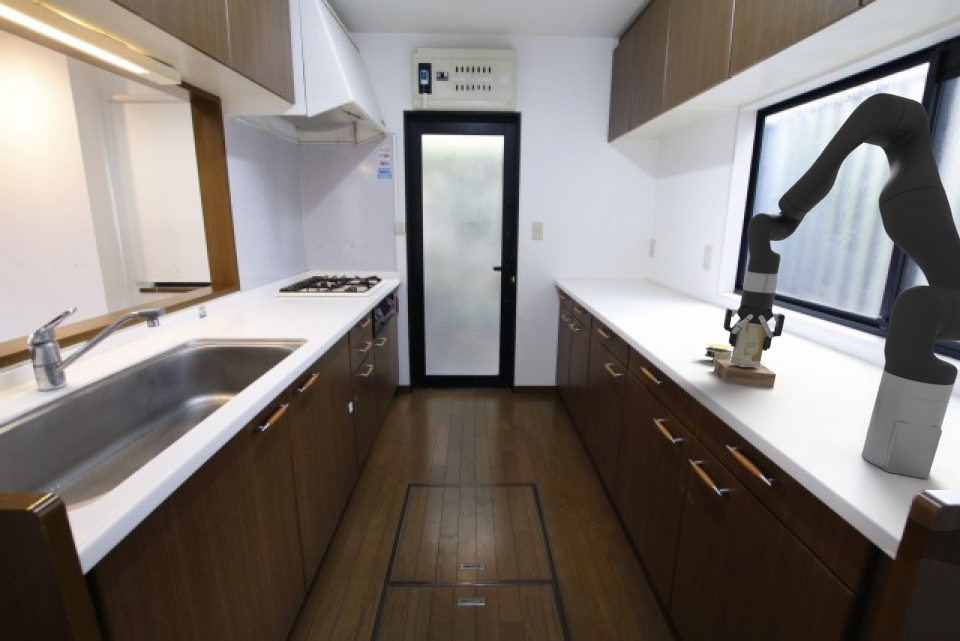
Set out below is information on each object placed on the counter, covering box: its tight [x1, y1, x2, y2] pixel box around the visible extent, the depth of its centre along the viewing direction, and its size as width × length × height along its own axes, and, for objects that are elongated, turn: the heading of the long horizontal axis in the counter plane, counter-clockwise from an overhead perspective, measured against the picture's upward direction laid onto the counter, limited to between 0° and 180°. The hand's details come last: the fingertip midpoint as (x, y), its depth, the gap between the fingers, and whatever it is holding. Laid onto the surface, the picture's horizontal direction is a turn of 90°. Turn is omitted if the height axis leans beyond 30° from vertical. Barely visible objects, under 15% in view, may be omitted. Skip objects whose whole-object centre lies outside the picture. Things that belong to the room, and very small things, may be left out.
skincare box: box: [730, 320, 766, 367], centre depth 125 cm, size 6×4×12 cm
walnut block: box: [713, 359, 777, 388], centre depth 127 cm, size 10×12×4 cm
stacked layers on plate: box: [704, 343, 734, 365], centre depth 142 cm, size 10×9×6 cm
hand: (748, 348), depth 126 cm, fingers closed on skincare box, 7 cm apart
